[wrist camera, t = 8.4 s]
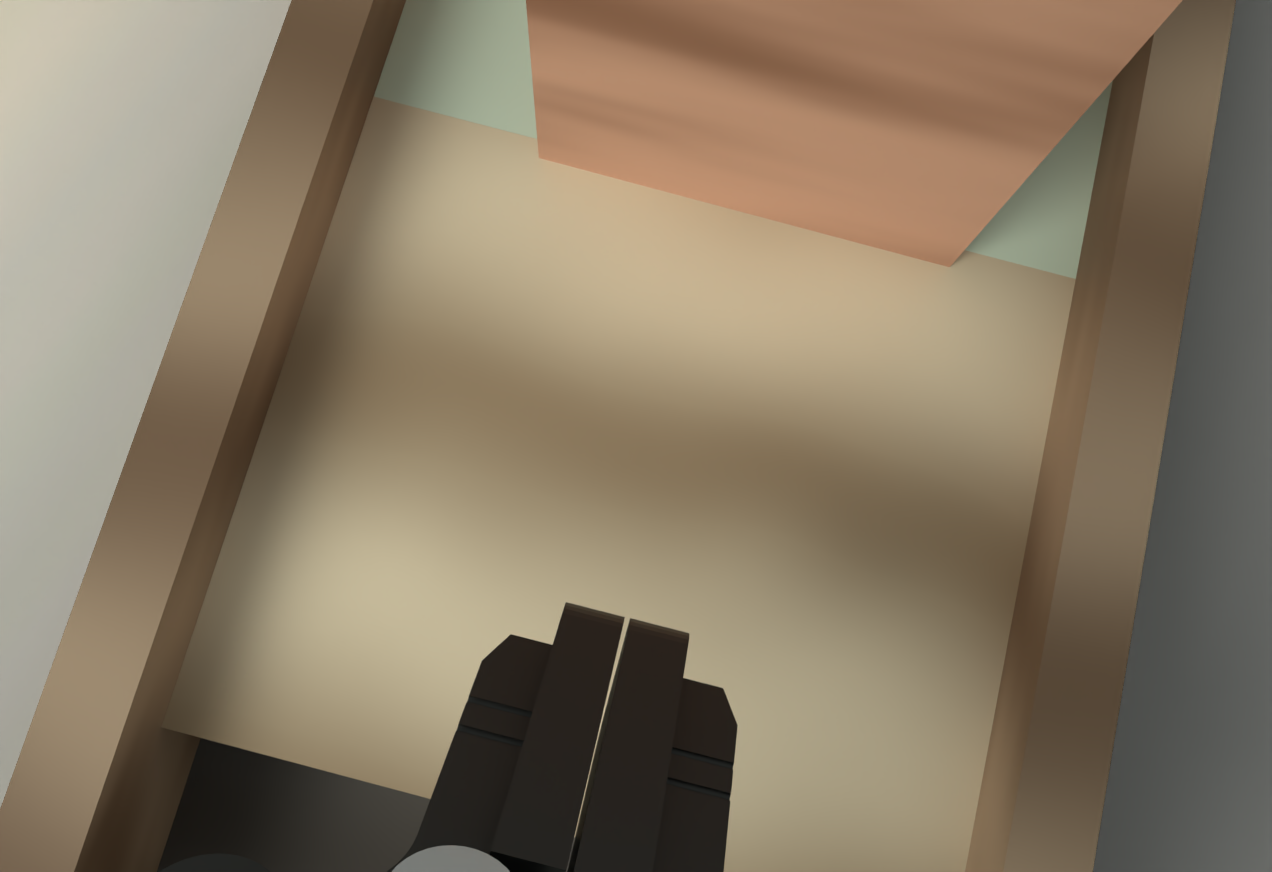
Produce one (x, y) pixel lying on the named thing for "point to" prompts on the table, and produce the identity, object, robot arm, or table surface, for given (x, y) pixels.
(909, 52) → the block
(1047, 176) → the pad
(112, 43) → the table surface
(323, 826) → the trough
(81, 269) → the table surface
